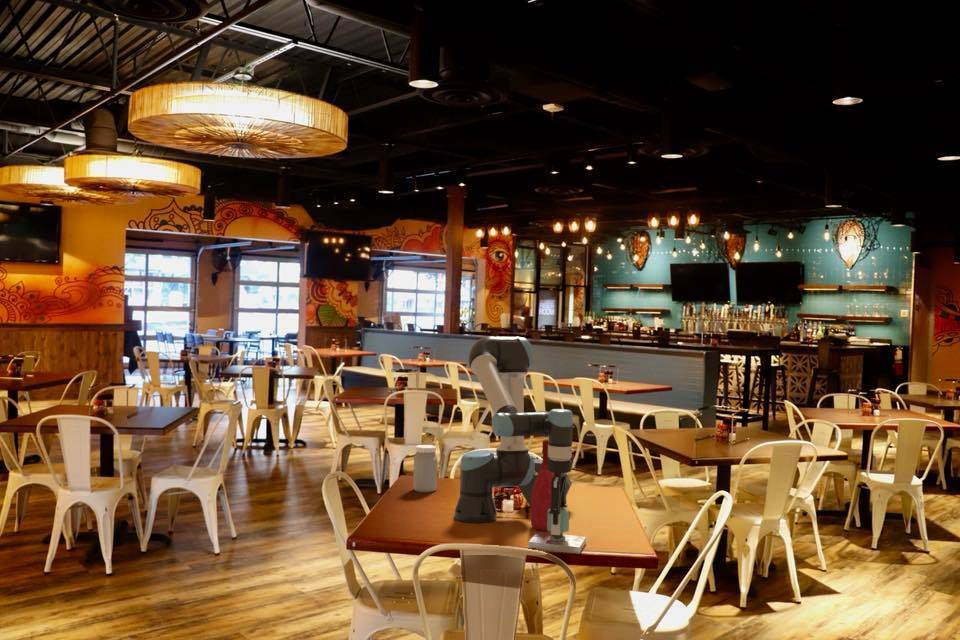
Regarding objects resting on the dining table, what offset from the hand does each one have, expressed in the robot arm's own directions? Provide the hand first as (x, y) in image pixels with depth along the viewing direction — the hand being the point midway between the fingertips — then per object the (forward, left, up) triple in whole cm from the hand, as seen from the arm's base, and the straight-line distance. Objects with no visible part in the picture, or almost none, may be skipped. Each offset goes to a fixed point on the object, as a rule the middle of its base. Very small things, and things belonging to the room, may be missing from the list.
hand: (557, 531), depth 249 cm
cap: (0, 0, 0) cm, 0 cm away
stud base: (0, 0, -5) cm, 5 cm away
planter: (-14, +47, -5) cm, 49 cm away
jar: (-66, +57, -5) cm, 87 cm away
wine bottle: (-8, +19, -5) cm, 21 cm away
